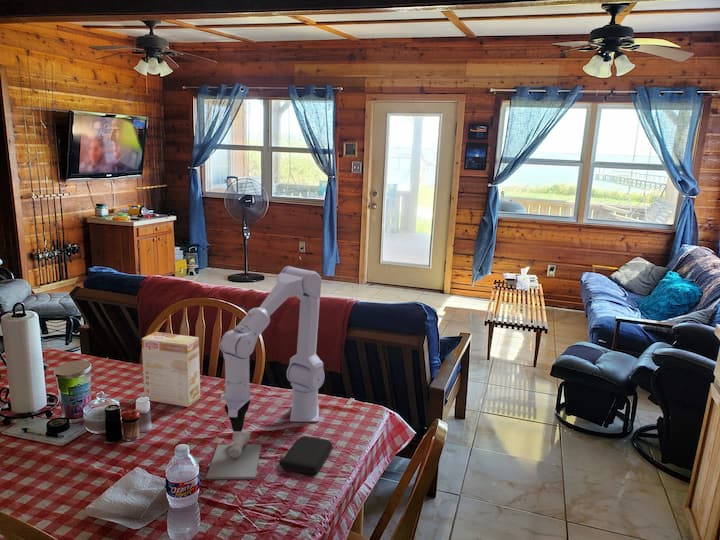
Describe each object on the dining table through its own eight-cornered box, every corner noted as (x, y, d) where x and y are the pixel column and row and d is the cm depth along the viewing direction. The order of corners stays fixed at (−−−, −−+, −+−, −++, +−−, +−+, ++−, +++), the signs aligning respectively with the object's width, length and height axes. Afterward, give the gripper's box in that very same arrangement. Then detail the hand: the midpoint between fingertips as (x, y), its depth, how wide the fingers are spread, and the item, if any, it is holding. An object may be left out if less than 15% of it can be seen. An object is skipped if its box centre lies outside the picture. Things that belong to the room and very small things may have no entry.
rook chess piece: (245, 445, 140) (238, 465, 133) (230, 437, 140) (222, 456, 132) (253, 432, 139) (246, 451, 131) (238, 424, 138) (230, 443, 131)
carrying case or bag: (295, 441, 143) (273, 472, 129) (296, 431, 143) (273, 461, 129) (334, 449, 141) (315, 481, 127) (335, 438, 140) (316, 469, 126)
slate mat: (217, 446, 139) (217, 444, 139) (261, 446, 140) (261, 444, 139) (206, 479, 125) (206, 476, 125) (254, 479, 126) (254, 476, 126)
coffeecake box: (201, 397, 165) (199, 336, 161) (188, 407, 159) (186, 344, 154) (157, 390, 169) (155, 330, 165) (143, 400, 162) (140, 338, 158)
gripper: (225, 367, 139) (226, 416, 142) (214, 391, 125) (215, 445, 128) (253, 367, 139) (253, 416, 142) (245, 392, 125) (246, 445, 128)
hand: (237, 430), depth 135 cm, fingers closed
